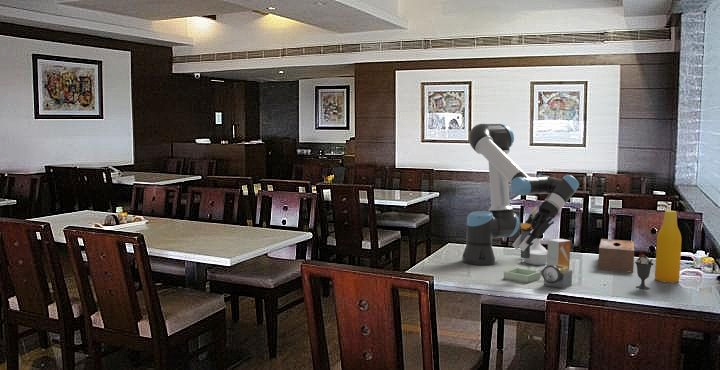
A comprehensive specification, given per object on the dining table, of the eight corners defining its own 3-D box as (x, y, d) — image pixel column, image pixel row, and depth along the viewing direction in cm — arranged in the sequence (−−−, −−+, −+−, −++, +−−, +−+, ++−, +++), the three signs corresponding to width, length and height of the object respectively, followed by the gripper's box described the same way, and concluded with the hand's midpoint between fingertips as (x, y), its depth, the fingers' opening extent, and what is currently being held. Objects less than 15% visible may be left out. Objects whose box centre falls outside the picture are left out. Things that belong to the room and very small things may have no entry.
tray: (503, 278, 258) (503, 271, 258) (516, 274, 266) (516, 267, 266) (528, 283, 251) (528, 276, 251) (540, 278, 259) (540, 271, 259)
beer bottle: (675, 278, 263) (679, 210, 260) (682, 283, 254) (686, 213, 251) (652, 277, 265) (655, 209, 262) (657, 282, 256) (661, 212, 253)
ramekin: (544, 266, 283) (545, 255, 283) (520, 263, 289) (520, 252, 289) (551, 262, 293) (551, 251, 292) (527, 259, 299) (528, 248, 298)
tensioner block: (540, 286, 246) (540, 264, 245) (552, 281, 254) (553, 260, 253) (559, 290, 240) (560, 267, 240) (571, 285, 249) (572, 263, 248)
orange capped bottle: (517, 257, 257) (518, 223, 255) (522, 255, 260) (523, 222, 259) (527, 259, 254) (528, 224, 252) (532, 257, 257) (533, 223, 256)
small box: (557, 271, 274) (559, 242, 273) (546, 268, 279) (547, 239, 278) (569, 269, 278) (571, 240, 277) (558, 266, 283) (559, 238, 282)
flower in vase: (529, 252, 315) (531, 203, 312) (551, 255, 308) (553, 205, 306) (519, 256, 304) (521, 206, 302) (542, 260, 297) (544, 208, 295)
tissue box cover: (600, 259, 303) (601, 238, 302) (632, 261, 297) (633, 241, 296) (598, 269, 279) (599, 247, 278) (633, 273, 273) (634, 250, 272)
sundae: (630, 286, 249) (631, 248, 248) (646, 285, 249) (648, 248, 248) (638, 290, 242) (640, 252, 241) (655, 290, 243) (657, 252, 242)
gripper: (570, 214, 254) (536, 257, 249) (543, 210, 269) (510, 250, 264) (560, 202, 251) (525, 245, 246) (533, 198, 266) (500, 239, 261)
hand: (517, 248), depth 255 cm, fingers closed on orange capped bottle, 3 cm apart
